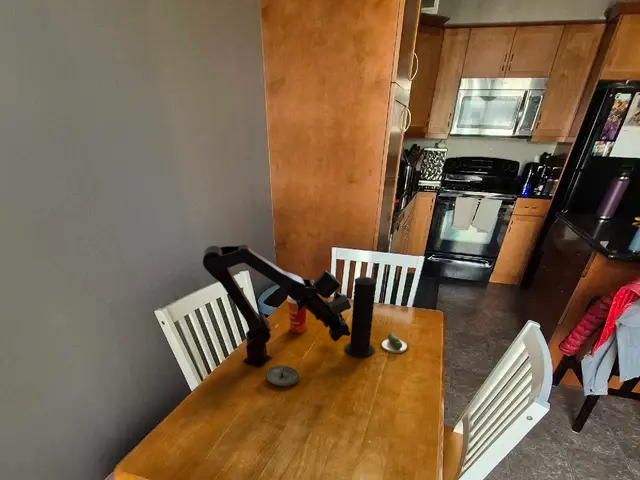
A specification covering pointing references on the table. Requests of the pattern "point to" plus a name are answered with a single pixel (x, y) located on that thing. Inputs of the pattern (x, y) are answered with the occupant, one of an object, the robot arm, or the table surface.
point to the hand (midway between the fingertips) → (349, 334)
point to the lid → (282, 376)
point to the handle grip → (362, 317)
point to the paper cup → (296, 317)
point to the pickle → (394, 344)
